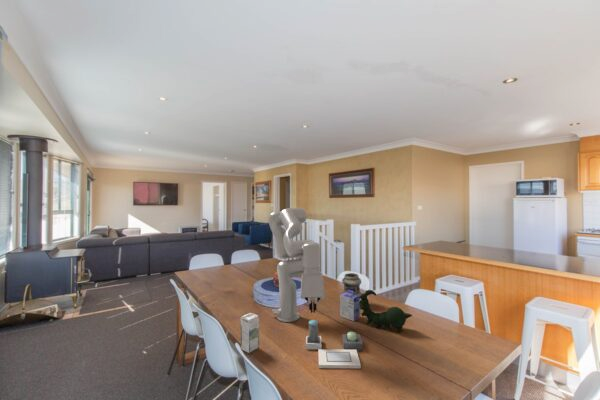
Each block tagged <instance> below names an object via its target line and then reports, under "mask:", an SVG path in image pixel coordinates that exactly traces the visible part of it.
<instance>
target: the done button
mask: <svg viewBox="0 0 600 400" xmlns="http://www.w3.org/2000/svg"><path fill="white" fill-rule="evenodd" d="M346 334H347V341H357V337H356V334H357V333H356V332H355V331H348V332H347V333H346Z"/></svg>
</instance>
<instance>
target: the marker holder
mask: <svg viewBox="0 0 600 400" xmlns="http://www.w3.org/2000/svg"><path fill="white" fill-rule="evenodd" d="M318 349H323V348H322V336H321V335H318V343H309V335H306V337H305V350H318Z"/></svg>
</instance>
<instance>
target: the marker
mask: <svg viewBox="0 0 600 400" xmlns="http://www.w3.org/2000/svg"><path fill="white" fill-rule="evenodd" d="M308 336H309V342H308V343H319V342H318V336H319V321H318V320H315V319H311V320H309V321H308Z"/></svg>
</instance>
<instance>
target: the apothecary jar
mask: <svg viewBox="0 0 600 400" xmlns="http://www.w3.org/2000/svg"><path fill="white" fill-rule="evenodd" d="M341 281H342V284H343V291H342V293H341V294H343V293H348V290H351V291H354V293H353V295H356V296H359V300H361V298H360V296H361V294H362V292H361V289H360V288H361V287H360V285H361V284H362V279H361V278H360V277H359V275H358V274H357V273H355V272H354V273H353V272H349V273H345V274H344V277H343V278H342V279H341ZM349 293H351V294H352V292H349ZM359 303H360V301H359ZM360 304H361V303H360Z"/></svg>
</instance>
